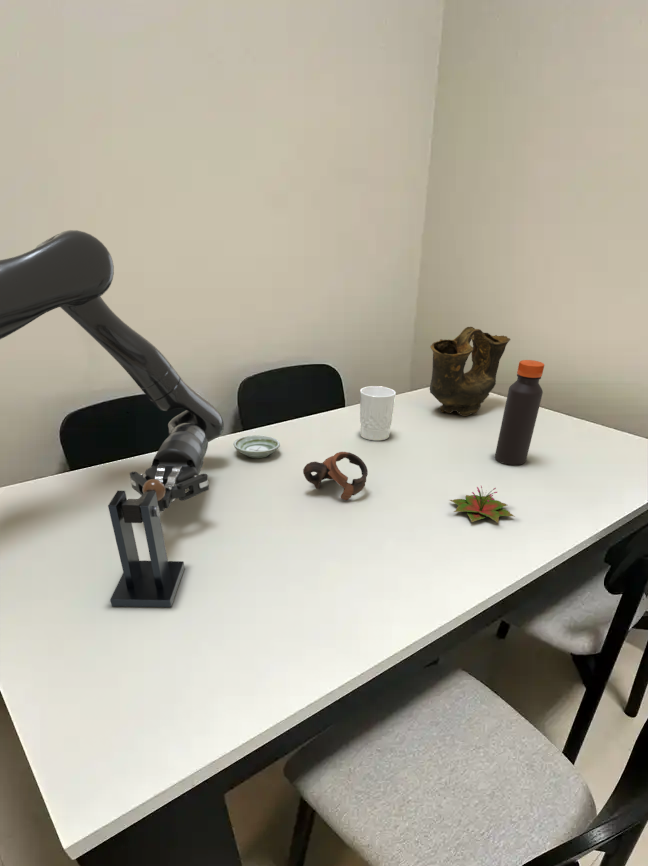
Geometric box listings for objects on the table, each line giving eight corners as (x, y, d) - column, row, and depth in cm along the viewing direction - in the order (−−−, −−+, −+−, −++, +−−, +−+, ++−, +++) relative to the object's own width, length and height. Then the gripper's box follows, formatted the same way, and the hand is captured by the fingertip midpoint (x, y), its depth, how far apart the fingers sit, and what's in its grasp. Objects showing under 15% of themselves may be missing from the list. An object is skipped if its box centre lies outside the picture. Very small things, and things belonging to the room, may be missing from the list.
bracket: (130, 567, 87) (111, 480, 79) (184, 568, 88) (171, 482, 79) (111, 606, 79) (88, 515, 71) (171, 607, 80) (155, 517, 71)
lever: (147, 497, 87) (144, 476, 85) (168, 498, 87) (166, 476, 86) (121, 525, 75) (117, 501, 74) (146, 526, 76) (142, 502, 74)
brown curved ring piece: (347, 477, 117) (365, 449, 111) (357, 516, 113) (377, 489, 107) (292, 469, 111) (308, 439, 105) (300, 509, 107) (317, 481, 101)
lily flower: (437, 500, 110) (440, 477, 107) (492, 493, 113) (497, 471, 110) (467, 530, 101) (472, 507, 98) (526, 522, 104) (532, 499, 101)
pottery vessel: (474, 396, 163) (488, 318, 150) (505, 407, 156) (522, 326, 144) (412, 413, 149) (422, 328, 137) (444, 425, 143) (457, 337, 131)
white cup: (389, 429, 138) (393, 386, 132) (393, 442, 132) (397, 397, 126) (356, 429, 138) (359, 385, 132) (359, 441, 132) (361, 396, 126)
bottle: (517, 468, 124) (541, 369, 111) (489, 459, 127) (508, 362, 114) (530, 459, 128) (554, 363, 116) (502, 451, 131) (523, 356, 119)
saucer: (282, 446, 127) (282, 435, 126) (277, 464, 120) (277, 452, 118) (238, 444, 127) (237, 433, 126) (230, 461, 119) (229, 450, 118)
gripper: (137, 437, 98) (107, 481, 84) (216, 440, 99) (199, 483, 85) (144, 479, 103) (117, 527, 89) (220, 481, 103) (204, 529, 90)
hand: (157, 505), depth 87 cm, fingers closed
